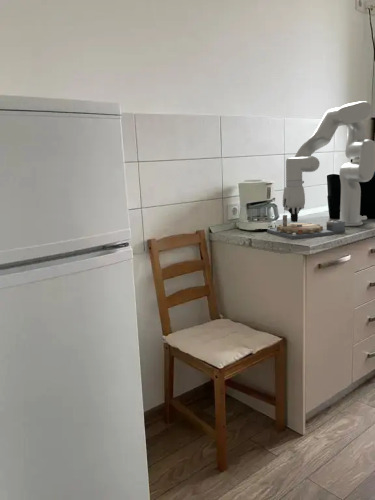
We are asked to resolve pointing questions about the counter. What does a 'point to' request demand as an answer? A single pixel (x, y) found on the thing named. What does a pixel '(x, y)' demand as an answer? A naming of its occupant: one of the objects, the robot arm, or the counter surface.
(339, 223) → the grey block
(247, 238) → the counter surface
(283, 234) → the sprocket base
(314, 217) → the counter surface
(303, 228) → the sprocket disc
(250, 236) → the counter surface
